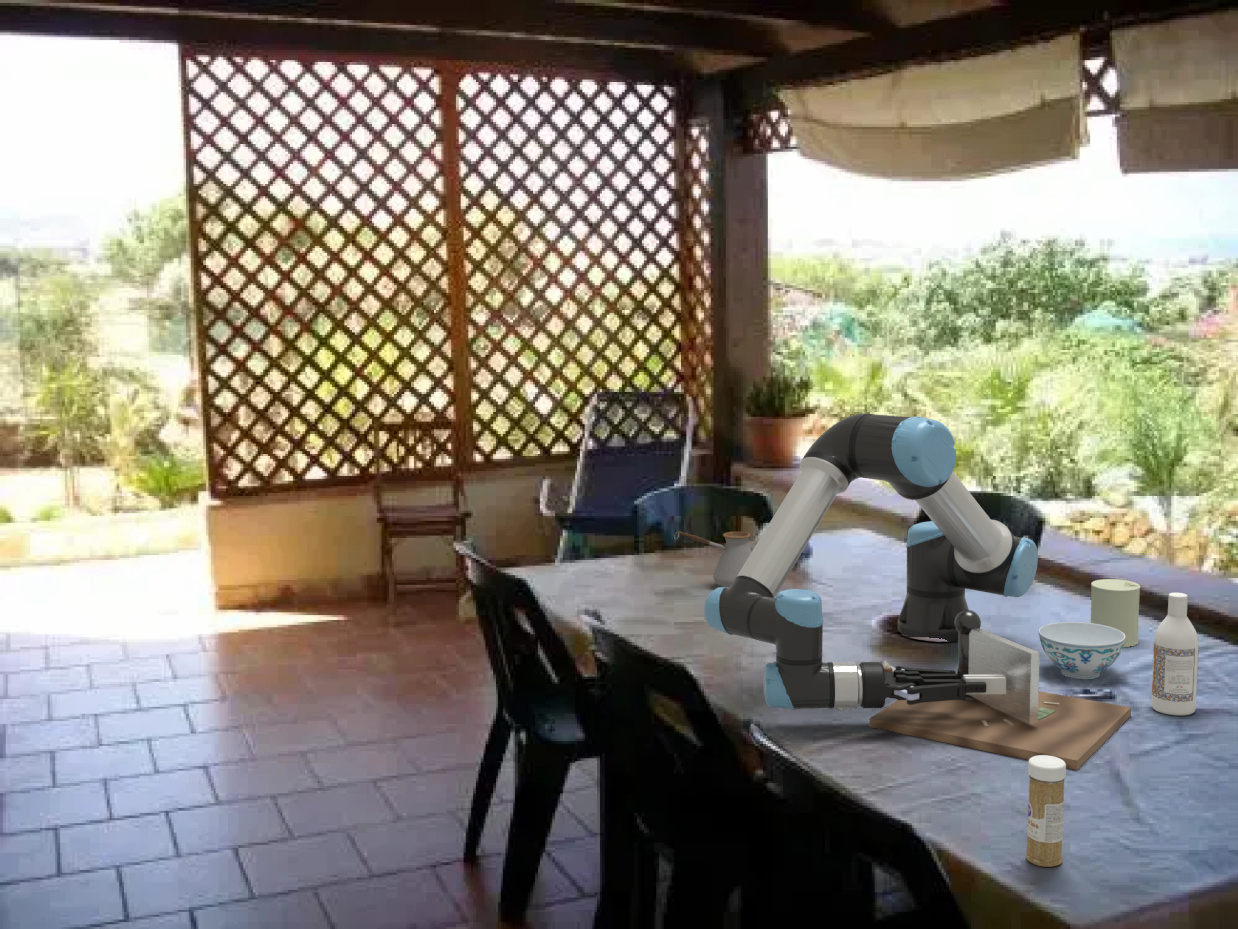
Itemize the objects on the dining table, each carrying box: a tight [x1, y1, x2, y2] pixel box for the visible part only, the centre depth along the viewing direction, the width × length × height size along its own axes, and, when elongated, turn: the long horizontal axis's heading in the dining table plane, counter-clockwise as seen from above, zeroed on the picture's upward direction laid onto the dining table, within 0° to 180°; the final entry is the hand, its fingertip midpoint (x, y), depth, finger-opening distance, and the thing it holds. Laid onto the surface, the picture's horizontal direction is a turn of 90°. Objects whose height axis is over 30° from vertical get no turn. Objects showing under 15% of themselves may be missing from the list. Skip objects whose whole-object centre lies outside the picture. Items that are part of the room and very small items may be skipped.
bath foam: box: [1150, 592, 1200, 716], centre depth 221 cm, size 7×7×20 cm
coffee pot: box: [673, 530, 753, 588], centre depth 309 cm, size 21×12×15 cm, turn 109°
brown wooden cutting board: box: [869, 690, 1132, 771], centre depth 219 cm, size 34×28×2 cm
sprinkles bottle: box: [1025, 755, 1067, 868], centre depth 168 cm, size 5×5×13 cm
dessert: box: [879, 660, 896, 672], centre depth 240 cm, size 12×12×5 cm
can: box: [1090, 578, 1141, 648], centre depth 261 cm, size 9×9×12 cm
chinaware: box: [1038, 621, 1125, 680], centre depth 242 cm, size 15×15×8 cm
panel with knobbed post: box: [954, 609, 1040, 724], centre depth 219 cm, size 20×4×14 cm, turn 22°
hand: (1004, 684), depth 215 cm, fingers closed
